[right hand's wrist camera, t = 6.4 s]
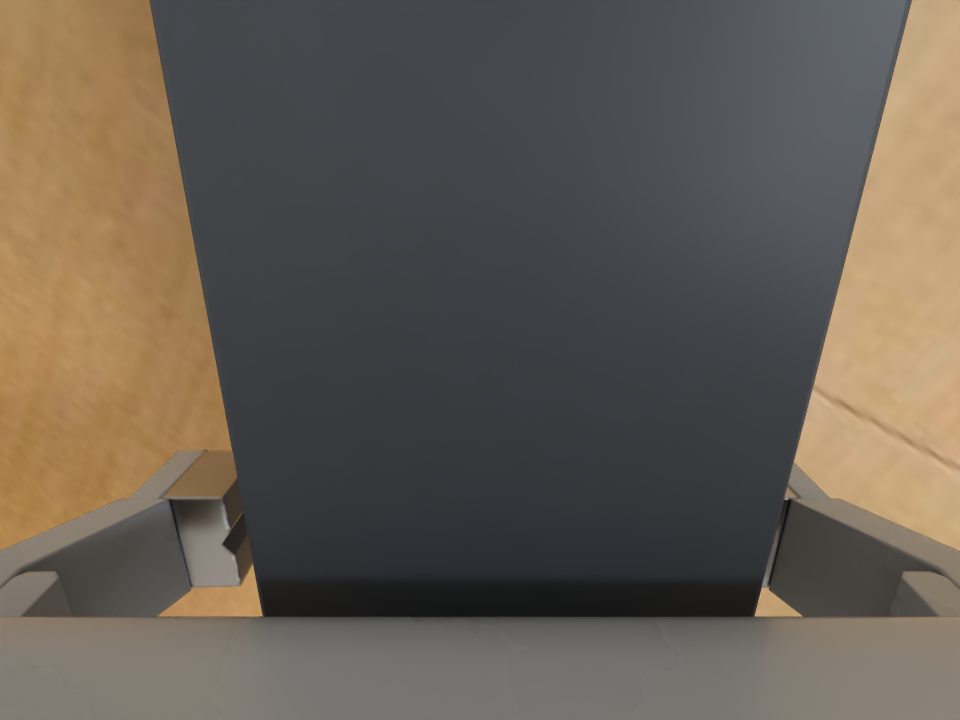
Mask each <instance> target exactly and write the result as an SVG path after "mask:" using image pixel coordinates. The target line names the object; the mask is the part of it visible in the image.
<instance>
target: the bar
mask: <svg viewBox="0 0 960 720" xmlns="http://www.w3.org/2000/svg"><path fill="white" fill-rule="evenodd" d="M911 1H912V0H150V5H151V11H152V16H153V22H154V27H155V32H156V38H157V43H158V49H159V54H160V60H161V65H162V70H163V76H164V81H165V87H166V92H167V98H168V103H169V109H170V114H171V119H172V125H173V130H174V136H175V141H176V147H177V152H178V158H179V163H180V168H181V174H182V179H183V185H184V190H185V196H186V201H187V206H188V212H189V217H190V223H191V228H192V234H193V239H194V245H195V250H196V255H197V261H198V266H199V272H200V277H201V283H202V288H203V294H204V299H205V304H206V310H207V315H208V321H209V326H210V332H211V337H212V342H213V348H214V353H215V359H216V364H217V370H218V375H219V381H220V386H221V391H222V397H223V402H224V408H225V413H226V419H227V424H228V430H229V435H230V440H231V446H232V451H233V457H234V462H235V468H236V473H237V478H238V484H239V489H240V495H241V500H242V506H243V511H244V517H245V522H246V527H247V533H248V538H249V544H250V549H251V555H252V560H253V566H254V571H255V576H256V582H257V587H258V593H259V598H260V604H261V609H262V614H263V617H754V615H755V611H756V607H757V603H758V599H759V596H760V592H761V588H762V584H763V580H764V576H765V572H766V568H767V564H768V560H769V556H770V553H771V549H772V545H773V541H774V537H775V533H776V529H777V525H778V521H779V517H780V513H781V510H782V506H783V502H784V498H785V494H786V490H787V486H788V482H789V478H790V474H791V470H792V467H793V463H794V459H795V455H796V451H797V447H798V443H799V439H800V435H801V431H802V427H803V424H804V420H805V416H806V412H807V408H808V404H809V400H810V396H811V392H812V388H813V384H814V380H815V377H816V373H817V369H818V365H819V361H820V357H821V353H822V349H823V345H824V341H825V337H826V334H827V330H828V326H829V322H830V318H831V314H832V310H833V306H834V302H835V298H836V294H837V291H838V287H839V283H840V279H841V275H842V271H843V267H844V263H845V259H846V255H847V251H848V248H849V244H850V240H851V236H852V232H853V228H854V224H855V220H856V216H857V212H858V208H859V205H860V201H861V197H862V193H863V189H864V185H865V181H866V177H867V173H868V169H869V165H870V162H871V158H872V154H873V150H874V146H875V142H876V138H877V134H878V130H879V126H880V122H881V119H882V115H883V111H884V107H885V103H886V99H887V95H888V91H889V87H890V83H891V79H892V76H893V72H894V68H895V64H896V60H897V56H898V52H899V48H900V44H901V40H902V36H903V33H904V29H905V25H906V21H907V17H908V13H909V9H910V5H911Z"/></svg>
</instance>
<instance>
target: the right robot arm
mask: <svg viewBox="0 0 960 720" xmlns="http://www.w3.org/2000/svg"><path fill="white" fill-rule="evenodd" d="M252 565H253V560H252V555H251V549H250V544H249V538H248V533H247V527H246V522H245V517H244V511H243V506H242V500H241V495H240V489H239V484H238V478H237V473H236V468H235V462H234V457H233V451H228V450H209V451H208V450H182V451H177V452H176V453H175V454H174V455H173V456H172V457H171V458H170V459H169V460H168V461H167V462H166V463H165V464H164V465H163V466H162V467H161V468H160V469H159V470H158V471H157V472H156V473H155V474H154V475H153V476H152V477H151V478H150V479H149V480H148V481H147V482H146V483H145V484H144V485H143V486H142V487H141V488H139V489H138V490H137V491H136V492H135V493H134V494H133V495H132V496H131V497H130V498H129V499H119V500H116V501H114V502H112V503H109V504H107V505H105V506H102V507H100V508H98V509H96V510H93V511H91V512H89V513H86V514H84V515H82V516H79V517H77V518H75V519H73V520H70V521H68V522H66V523H63V524H61V525H59V526H56V527H54V528H52V529H50V530H47V531H45V532H43V533H40V534H38V535H36V536H33V537H31V538H29V539H26V540H24V541H22V542H20V543H17V544H15V545H13V546H10V547H8V548H6V549H3V550H1V551H0V720H960V551H958V550H956V549H954V548H952V547H949V546H947V545H945V544H942V543H940V542H938V541H936V540H933V539H931V538H929V537H926V536H924V535H922V534H919V533H917V532H915V531H913V530H910V529H908V528H906V527H903V526H901V525H899V524H897V523H894V522H892V521H890V520H887V519H885V518H883V517H880V516H878V515H876V514H874V513H871V512H869V511H867V510H864V509H862V508H860V507H858V506H855V505H853V504H851V503H848V502H846V501H844V500H841V499H831V498H830V497H829V496H828V495H827V494H826V493H825V492H824V491H823V490H822V489H821V488H820V487H819V486H818V485H817V484H816V483H814V482H813V481H812V480H811V479H810V478H809V477H808V476H807V475H806V474H805V473H804V472H803V471H802V470H801V469H800V468H799V467H798V466H797V465H796V464H795V463H793V467H792V470H791V474H790V478H789V482H788V486H787V490H786V494H785V498H784V502H783V506H782V510H781V513H780V517H779V521H778V525H777V529H776V533H775V537H774V541H773V545H772V549H771V553H770V556H769V560H768V564H767V568H766V572H765V576H764V580H763V584H762V587H764V588H769V590H770V591H771V592H772V593H774V594H775V595H776V596H777V597H779V598H780V599H781V600H783V601H784V602H785V603H787V604H788V605H789V606H790V607H792V608H793V609H794V610H796V611H797V612H798V613H799V614H801V615H802V616H803V617H157V616H158V615H159V614H161V613H162V612H163V611H165V610H166V609H167V608H169V607H170V606H171V605H172V604H174V603H175V602H176V601H178V600H179V599H180V598H181V597H183V596H184V595H185V594H187V593H188V592H189V591H190V590H191V588H196V587H232V586H241V584H242V583H243V581H244V579H245V577H246V575H247V574H248V572H249V570H250V568H251V566H252Z"/></svg>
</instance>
